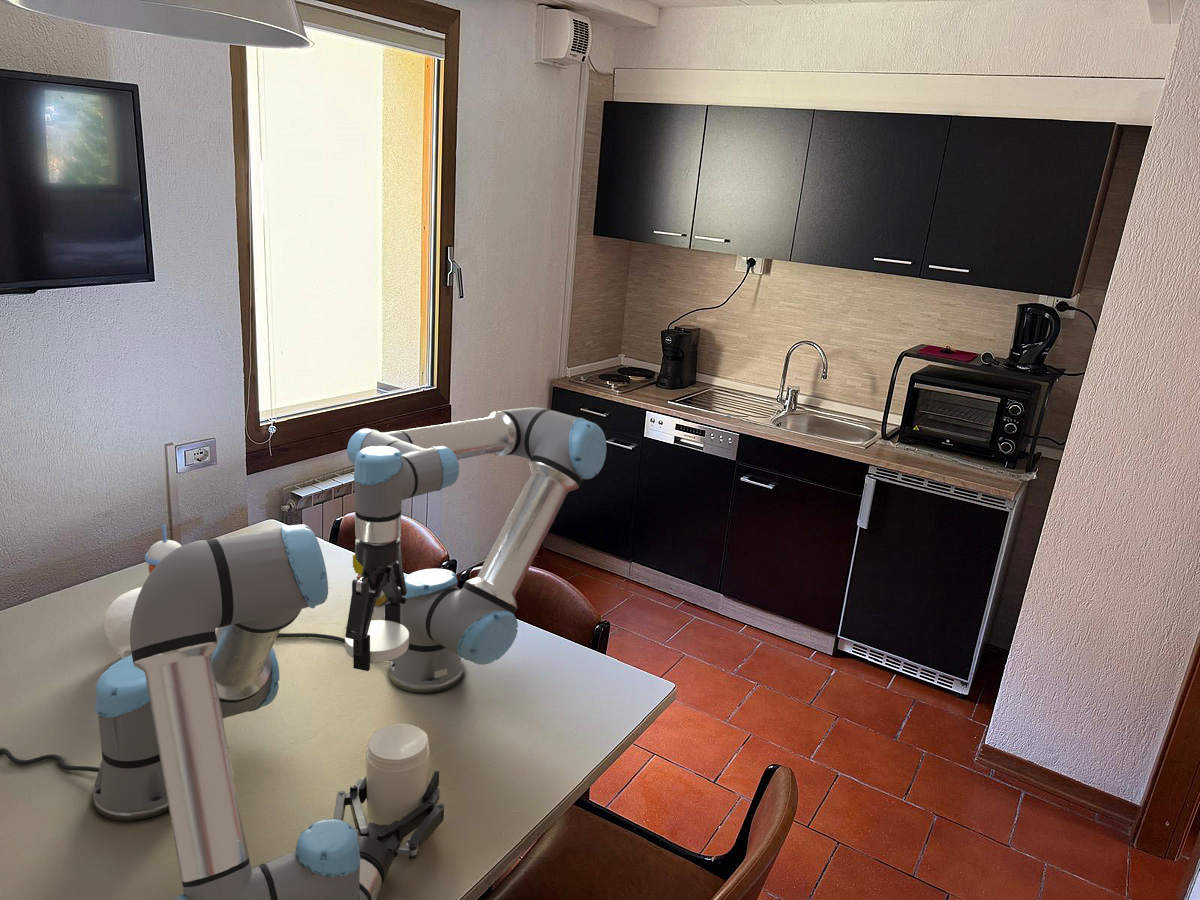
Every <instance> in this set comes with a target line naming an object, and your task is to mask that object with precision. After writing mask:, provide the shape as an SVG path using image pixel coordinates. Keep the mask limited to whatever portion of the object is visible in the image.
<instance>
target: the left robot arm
mask: <svg viewBox="0 0 1200 900" xmlns="http://www.w3.org/2000/svg"><path fill="white" fill-rule="evenodd" d="M327 573H328V572H327V568H326V563H325V558H324V556H323V551H322V548H321V545H320V543H319V541H318V538H317V536H316V534H315V532H314V531H313V530H312V529H311V527H309V526H308V525H306V524H294V525H292V524H291V525H285V524H282V525H281V526H280V527H276V528H270V529H263V530H257V531H252V532H246V533H239V534H232V535H227V536H221V537H213V538H209V539H200V540H194V541H191V542H188V543H186V544H182V545H181V546H180V547H179V548H177V549H175V550H174V551H172V552H171V553H169V554H168V555H167V556H166V557H164V558H163V559H162V560H161V561H160V562H159V563H158V564H157V565H156V567H155V568H154V569H153V570H152V572H151V573H150V574H149V575H148V576H147V578H146V579H145V581H144V583H143V585H142V586H141V587H142V589H141V591H140V593H139V596H138V598H137V601H136V604H135V607H134V611H133V615H132V619H131V627H130V647H131V653H132V655H131V656H128V657H126V658H124V659H122V658H121V659H120V660H117V661H115V662H114V663H112V664H111V665H110V666H109V667H108V668H107V669H106V670H105V671H104V672H103V673H101V675H100V676H99V678H98V680H97V681H96V685H95V704H94V709H95V713H96V714H97V721H98V730H99V739H100V748H101V749H100V750H101V756H102V757H101V761H100V765H99V767H98V766H91V765H90V766H88V765H71V764H67V763H66V762H65V760H64V759H63V758H62V756H61V755H58V754H45V755H40V756H38V757H34V758H33V757H32V758H30V759H20V758H17V757H16V756H14V755H13V754H12V753H11V751H10V750H9V749H7V748H6V747H2V748H0V755H2V754H4V755H5V756H6V758H7V759H8V760H9V761H10V762H12V763H13V764H15V765H19V766H20V765H21V766H25V765H32V764H35V763H39V762H41V761H46V760H55V761H57V763H58V764H59V766H60V767H61V768H62V769H64V770H67V771H73V772H75V771H77V772H78V771H80V772H92V773H97V775H96V778H95V782H94V785H93V792H92V794H93V795H92V797H93V805H94V808H95V809H96V811H97V812H98V813H99V814H100V815H101V816H104V817H106V818H108V819H110V820H115V821H126V822H128V821H129V822H131V821H140V820H145V819H149V818H153V817H156V816H159V815H162V814H165V813H167V812H169V817H170V823H171V829H172V835H173V840H174V846H175V851H176V856H177V863H178V868H179V875H180V880H181V884H182V888H183V889H182V894H179V895H178V896H177V897H175V898H173V899H172V900H376V899H377V897H378V895H379V893H380V891H381V888H382V886H383V884H384V881H385V880H386V878H387V875H388V873H389V870H390V868H391V865H392V863H393V861H394V860H395V859H396V858H397V857H398V856H399V855H404V856H405V855H406V856H408V859H409V860H411V861H414V860H416V859H417V858H418V855H419V852H420V849H421V848H422V847H423V846H424V844H425V843H426V842H427V841H428V840H429V838H430V837H431V836H432V835H433V834H434V832H435V831H436V830H437V829H438V827H439V826H440V824H442V822H443V821H444V819H445V804H444V803H439V801H440V797H441V793H440V792H441V791H440V790H441V789H440V788H439V787H440V771H439V770H434V771H433V774H432V776H431V778H430V780H429V786H428V788H427V790H426V793H425V795H424V800H423V804H422V805H420V806H419V807H418V808H416V809H415V810H413V811H412V812H411V813H409V814H408V815H406V816H405V817H404V818H402V819H401V820H400V821H397V820H396V821H394V822H393V823H392V824H390V825H378V824H375V823H369V824H367V823H366V816H365V814H364V811H363V810H364V809H363V807H362V804H364V803H365V801H366V775H365V776H364V778H359V779H358V780H357V781H356V783H355V784H354V785H351V786H350V787H349V791H348V792H346V791H344V790H339V791H337V794H336V799H335V806H334V813H333V818H325V819H321V820H318V821H315V822H313V823H311V824H310V825H309V826H308V827H307V828H306V829H304V830H302V832H301V833H300V835H299V836H298V838H297V842H296V847H295V851H292V852H290V853H288V854H285V855H282V856H279V857H277V858H274V859H272V860H269V861H267V862H264V863H262V864H259V865H257V866H254V867H252V864H251V861H250V853H249V849H248V844H247V838H246V832H245V827H244V822H243V817H242V811H241V806H240V801H239V796H238V791H237V785H236V781H235V775H234V769H233V764H232V759H231V754H230V748H229V743H228V739H227V733H226V728H225V727H226V726H225V723H224V719H226V718H229V717H230V718H231V717H233V716H236V715H241V714H244V713H247V712H248V713H249V712H255V711H257V710H259V709H261V708H263V707H265V706H268V705H270V704H271V703H272V702H273V701H274V700H275V699H276V697H277V695H278V692H279V687H280V684H279V681H280V667H279V662H278V658H277V654H276V653H275V650H274V648H273V647H274V645H275V643H276V640H277V638H278V637H277V636H278V634H279V633H280V631H281V630H283V629H285V628H287V627H288V626H290V625H291V624H292V623H293V622H295V620H296V619H297V618H298V616H299V615H300V614H301V612H302V610H303V609H306V608H311V609H315V608H316V607H317V606H320V605H323V604H324V603H326V601H327V599H328V596H329V581H328V574H327ZM346 806H350V809H351V810H350V811H351V815H352V819H353V823H354V827H355V828H354V827H353V825H351V824H350V823H349V822H347V821H345V812H346ZM416 828H417V829H416ZM415 829H416V830H415ZM414 830H415V831H414ZM412 831H414V833H413V834H412V836H411V837H408V838H407V841H406V842H405V843H403V844H400V843H401V842H402V840H403V838H404V837H406V836H407V835H408V834H410V833H411V832H412Z"/></svg>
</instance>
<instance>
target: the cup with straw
mask: <svg viewBox="0 0 1200 900" xmlns="http://www.w3.org/2000/svg"><path fill="white" fill-rule="evenodd" d="M161 535H162V540H158V541H156V542H154V543H153V544H152V545H150V547H149V549H148V551H147V552H146V553H145V555H144V562H145V563H146V564H148V573H149V575H150V573H151V572H152V570H153V569H154V568H155V567H156V565H157V564H158V563H159V562H160V561H161V560H162V559H163V558H164V557H166V556H167V555H168V554H169V553H171V552H172V551H174V550H175V549H177V548H179V547H180V546H182V545H181V544H180V543H179V542H178V541H176V540H173V539H168V537H167V535H168V533H167V524H166V523H164V524H163V523H162V524H161Z"/></svg>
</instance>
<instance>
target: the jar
mask: <svg viewBox="0 0 1200 900" xmlns="http://www.w3.org/2000/svg"><path fill="white" fill-rule="evenodd" d="M365 776H366V799H365V801H366V802H365V804H366V805H365V815H366V816H365V819H366V823H367V824H369V823H375V824H378V825H390V824H392V823H393V822H394V821H396V820H397V821H400V820H401V819H402V818H404V817H405V816H406V815H408V814H409V813H411V812H412V811H413V810H415V809H416V808H418V807H419V806H420V805H422V804H423V800H424V795H425V793H426V790H427V788H428V786H429V783H430V745H429V736H428V734H427V733H426V731H424V730H423V729H422V728H421V727H419V726H417V725H413V724H411V723H393V724H388V725H385V726H383V727H380V728H378V729H377V730H376V731H374V732H373V733H372V734H371V736H370V737H369V739H368V743H367V748H366V752H365ZM416 829H417V828H416ZM416 829H415V830H416ZM415 830H414V831H415ZM414 831H412V832H411V833H410V834H408V835H407V836H406V837H404V838H403V840H402V842H401V843H400V844H404V843H405V842H406V841H407V838H408V837H411V836H412V834H413V833H414Z"/></svg>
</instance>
